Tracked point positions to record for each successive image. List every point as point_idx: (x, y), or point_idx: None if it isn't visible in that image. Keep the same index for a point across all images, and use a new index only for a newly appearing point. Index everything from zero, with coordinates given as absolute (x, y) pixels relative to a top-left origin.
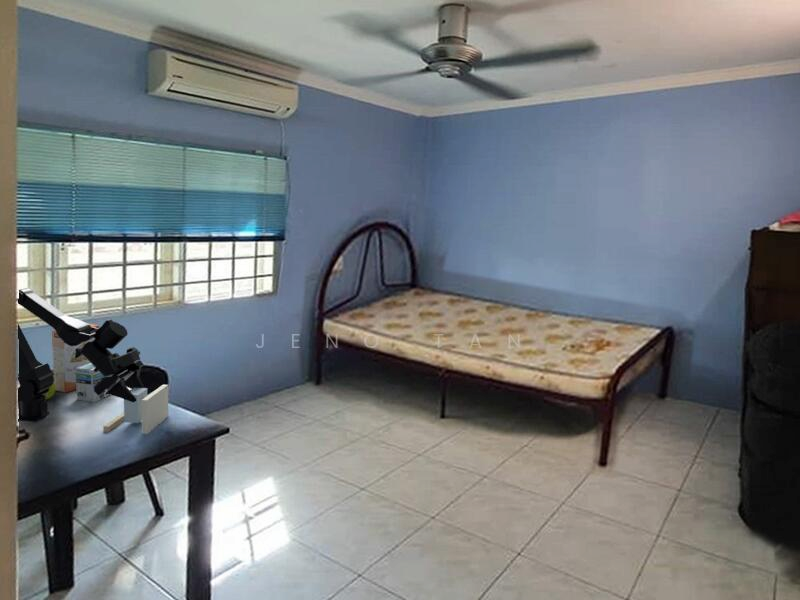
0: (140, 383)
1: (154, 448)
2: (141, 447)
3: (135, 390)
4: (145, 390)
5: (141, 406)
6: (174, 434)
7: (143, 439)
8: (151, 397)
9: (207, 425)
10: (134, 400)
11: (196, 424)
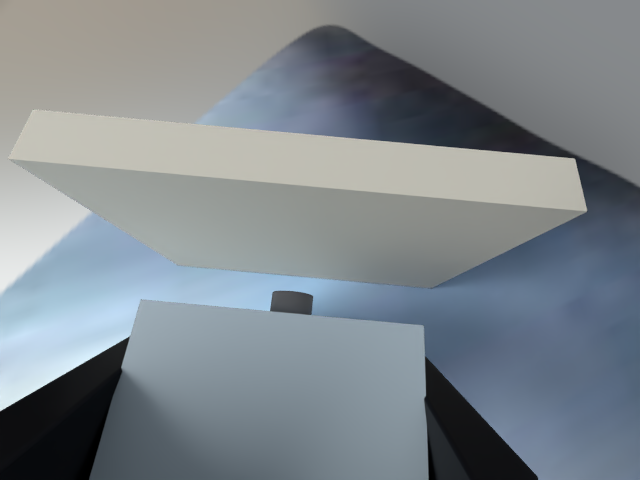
0: (30, 434)
1: None
2: (570, 236)
3: (234, 440)
4: (201, 305)
5: (533, 237)
6: None
7: None
8: (459, 152)
9: (300, 66)
10: None
11: (292, 102)
